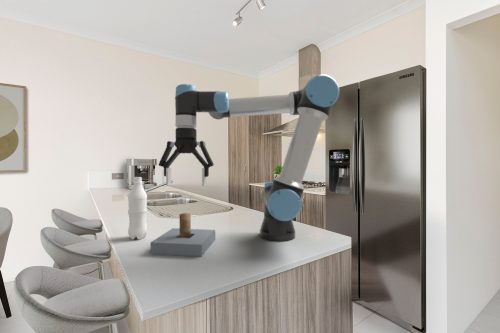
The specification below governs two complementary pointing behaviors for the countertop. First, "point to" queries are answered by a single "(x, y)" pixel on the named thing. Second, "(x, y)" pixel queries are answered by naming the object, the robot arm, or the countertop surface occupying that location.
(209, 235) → the socket board
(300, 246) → the countertop surface
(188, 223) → the peg
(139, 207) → the water bottle
